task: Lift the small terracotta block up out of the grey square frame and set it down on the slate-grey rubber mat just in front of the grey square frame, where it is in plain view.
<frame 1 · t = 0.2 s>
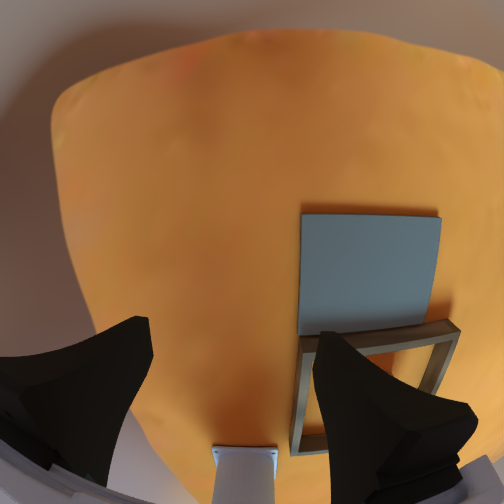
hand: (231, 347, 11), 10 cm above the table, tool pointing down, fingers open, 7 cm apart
mat: (372, 274, 20), on the table
grey square frame: (367, 390, 24), on the table
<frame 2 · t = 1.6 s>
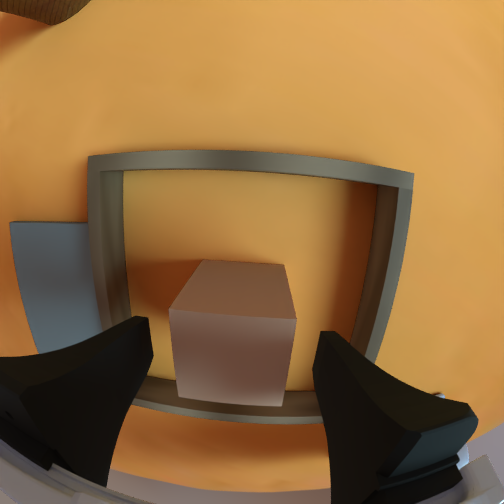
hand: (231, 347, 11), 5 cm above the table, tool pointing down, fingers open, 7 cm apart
block: (241, 299, 15), resting in grey square frame
mat: (63, 303, 16), on the table
grey square frame: (241, 299, 15), on the table
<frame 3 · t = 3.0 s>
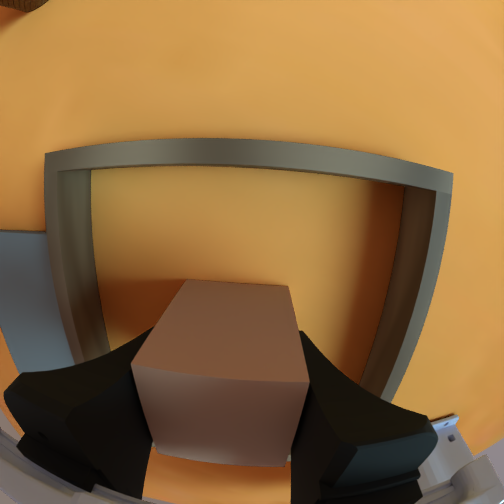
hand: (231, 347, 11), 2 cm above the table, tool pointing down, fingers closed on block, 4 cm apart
block: (235, 327, 12), resting in grey square frame, touching gripper
mat: (37, 322, 13), on the table
grey square frame: (235, 327, 12), on the table
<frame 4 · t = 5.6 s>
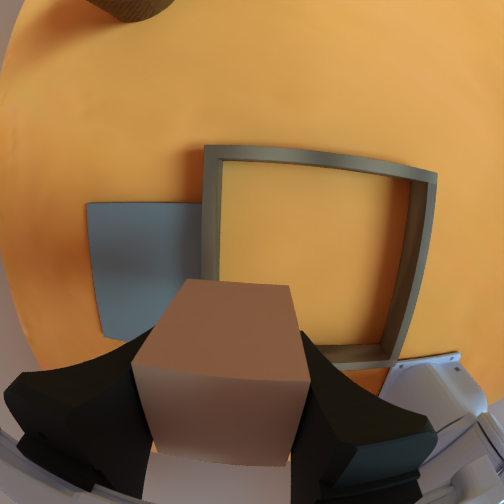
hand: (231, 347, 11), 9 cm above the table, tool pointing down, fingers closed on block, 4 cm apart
block: (235, 326, 12), point 8 cm above the table, touching gripper
mat: (144, 279, 20), on the table
grey square frame: (316, 265, 20), on the table
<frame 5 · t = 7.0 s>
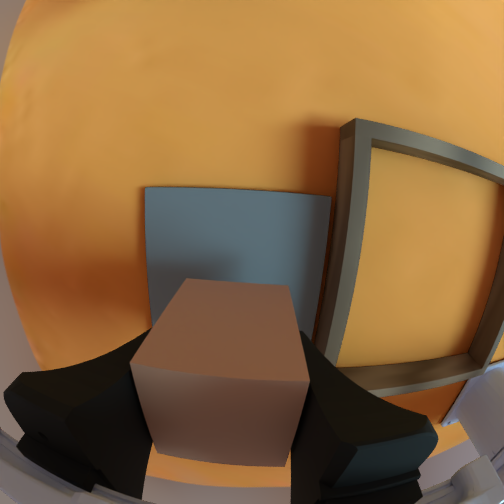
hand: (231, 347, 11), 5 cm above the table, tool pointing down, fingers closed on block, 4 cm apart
block: (234, 326, 12), point 3 cm above the table, touching gripper
mat: (231, 297, 15), on the table
grey square frame: (436, 274, 15), on the table
when the fingers open (4 cm above the table, at t = 8.1 s): block drops 2 cm, resting on mat.
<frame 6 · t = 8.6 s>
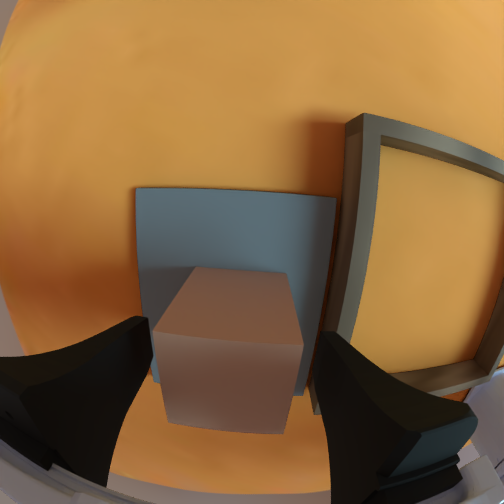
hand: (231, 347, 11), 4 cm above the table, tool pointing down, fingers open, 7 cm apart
block: (238, 310, 14), point 1 cm above the table, touching mat
mat: (229, 305, 14), on the table
grey square frame: (444, 280, 14), on the table
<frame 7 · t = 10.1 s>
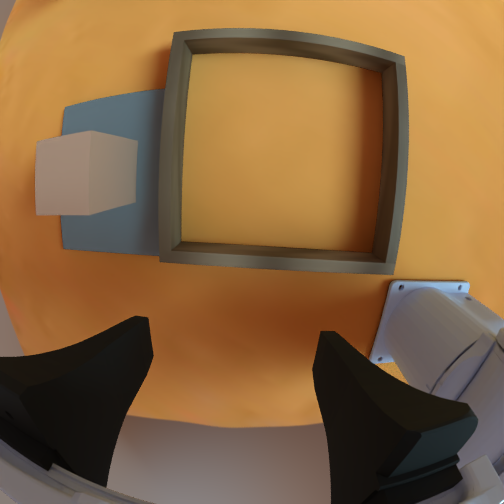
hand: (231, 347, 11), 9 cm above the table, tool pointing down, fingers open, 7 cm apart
block: (110, 172, 17), point 1 cm above the table, touching mat
mat: (108, 173, 18), on the table
grey square frame: (286, 145, 17), on the table
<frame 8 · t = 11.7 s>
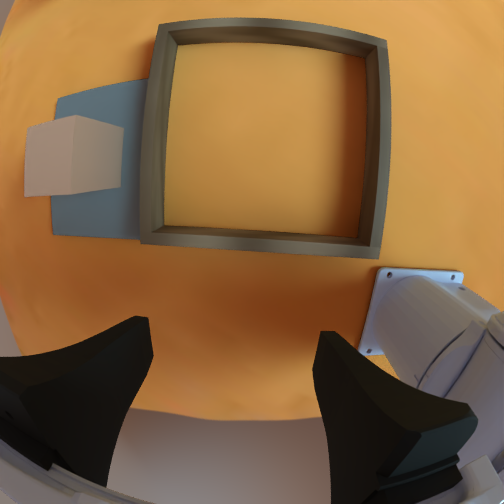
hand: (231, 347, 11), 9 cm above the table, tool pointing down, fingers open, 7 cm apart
block: (98, 159, 17), point 1 cm above the table, touching mat
mat: (96, 160, 18), on the table
grey square frame: (267, 129, 17), on the table
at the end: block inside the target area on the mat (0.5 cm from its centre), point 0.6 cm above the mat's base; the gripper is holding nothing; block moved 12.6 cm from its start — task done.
